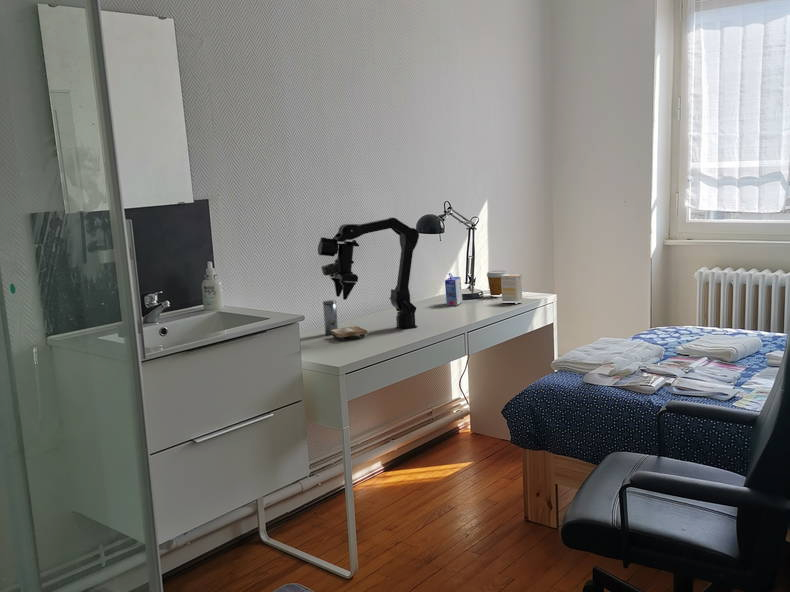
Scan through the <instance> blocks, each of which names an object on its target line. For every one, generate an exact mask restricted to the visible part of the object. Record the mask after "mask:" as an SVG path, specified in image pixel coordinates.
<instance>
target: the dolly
mask: <svg viewBox="0 0 790 592" xmlns="http://www.w3.org/2000/svg"><path fill="white" fill-rule="evenodd" d="M330 333H331V334H333V335H332V337H333V338H337V337H338V338H339V340H340V341H341V342H342V341H345V339H346V338H347V337H354V336H359V337H360V338H362V339H363V338H365V336H366V334H368V329H364V328H363V327H360V326H357V325H355V326H354V325H352V326H348V327H338V329H331V330H330ZM345 337H346V338H345Z"/></svg>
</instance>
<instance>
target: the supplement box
mask: <svg viewBox="0 0 790 592" xmlns="http://www.w3.org/2000/svg"><path fill="white" fill-rule="evenodd" d="M522 282H523V281H522V274H515V273H513V274H511V273H506V274H504V275H501V288H502V297H501V301H519V300H521V299H522V300H523V286H522Z"/></svg>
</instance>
